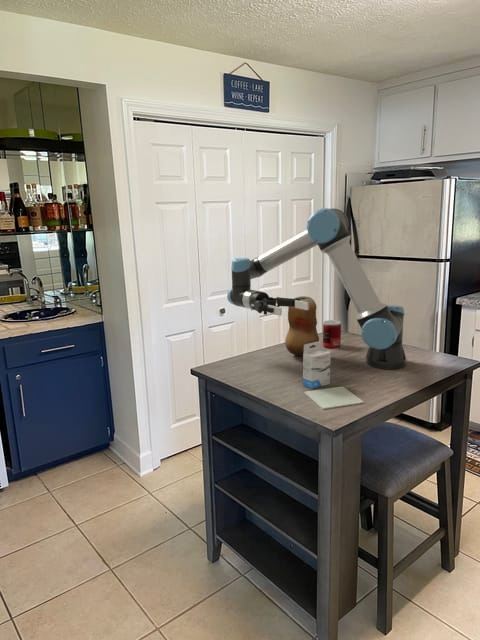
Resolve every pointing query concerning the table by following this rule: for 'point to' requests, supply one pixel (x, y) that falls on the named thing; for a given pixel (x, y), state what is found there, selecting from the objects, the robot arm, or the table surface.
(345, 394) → the sage mat
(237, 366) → the table surface
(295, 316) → the butternut squash
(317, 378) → the ink box
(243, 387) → the table surface
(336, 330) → the canned food
